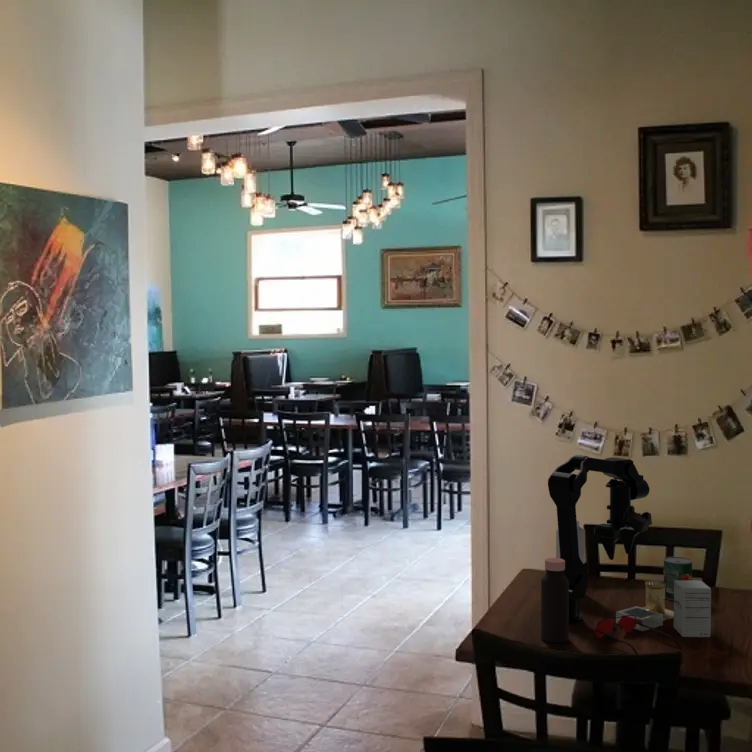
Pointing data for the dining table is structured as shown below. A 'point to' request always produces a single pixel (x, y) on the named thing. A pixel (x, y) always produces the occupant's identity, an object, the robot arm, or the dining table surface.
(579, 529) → the milk
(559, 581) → the bottle
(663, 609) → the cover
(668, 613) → the coaster
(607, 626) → the glasses
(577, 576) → the robot arm
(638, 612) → the housing
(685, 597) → the supplement box
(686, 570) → the canned tomato
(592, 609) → the dining table surface
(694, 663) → the dining table surface
